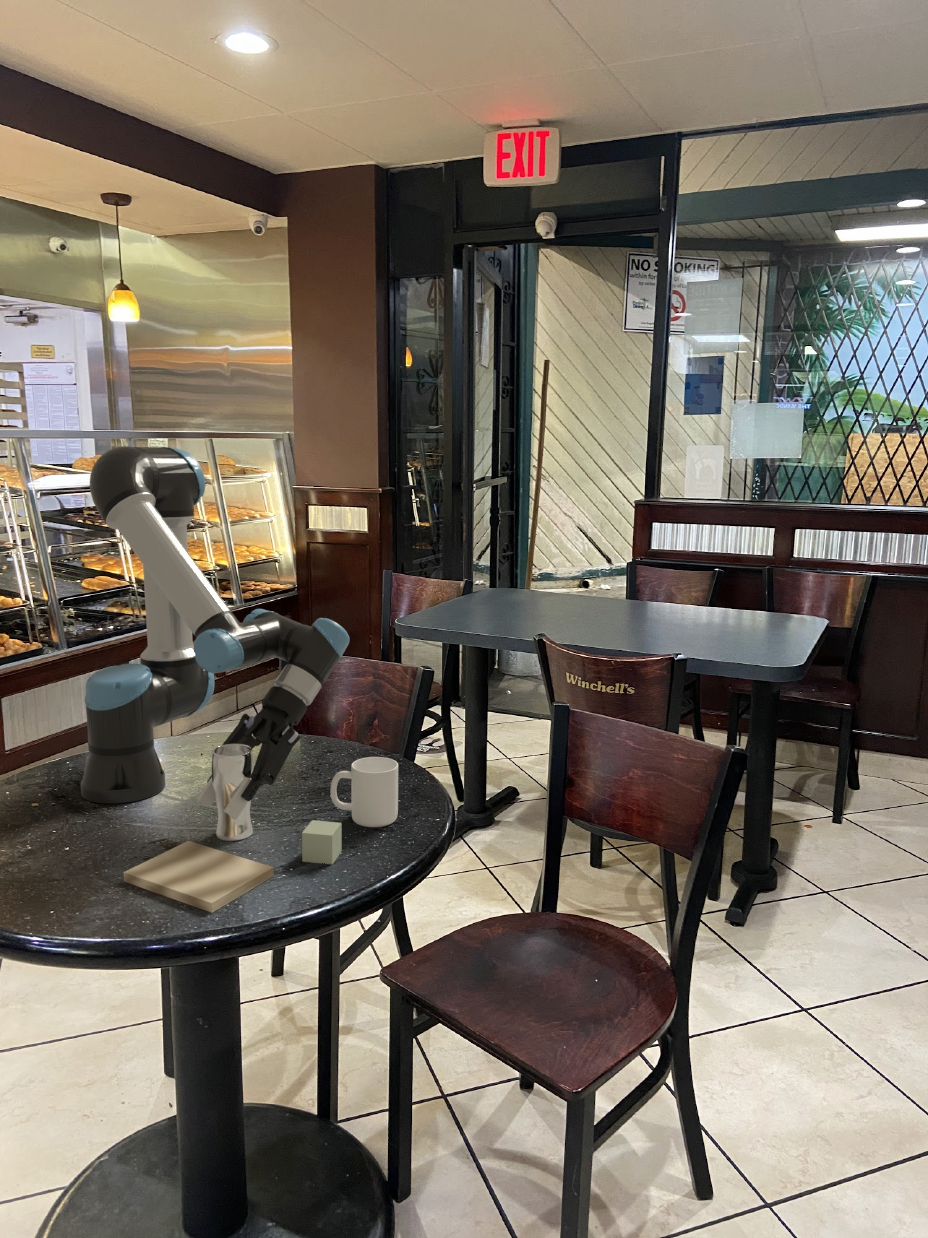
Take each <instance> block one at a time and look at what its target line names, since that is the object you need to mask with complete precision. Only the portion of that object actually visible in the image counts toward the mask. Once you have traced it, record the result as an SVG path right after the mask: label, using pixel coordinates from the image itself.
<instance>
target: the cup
mask: <svg viewBox="0 0 928 1238" xmlns="http://www.w3.org/2000/svg"><path fill="white" fill-rule="evenodd" d="M350 768H351V770H341V771H338V772H337V773H336V774H335V775H334V776H333V778H332V779H331V784H330V798H331V802H332V803H333V805H334V806H335V807H336V808H337V809H340V810H342V811H351V818H352V821H353V822H354V823H356V824H357V825H359V826H362V827H365V828H366V827H368V828H379V827H386V826H389V825H392V824H393V823H394V822H395V821H396V820H397V818H398V815H399V814H398V811H399V762H397V761H396V760H394V759H392V758H389V757H383V756H382V757H381V756H369V757H363V758H359V759H356V760H355V761H353V762H352V763H351V767H350ZM341 779H349V780H351V783H350V784H351V785H350V786H351V789H350V790H351V802H343V801H340V799H339V798H338V794H337V789H338V788H337V787H338V783H339V781H340V780H341Z"/></svg>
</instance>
